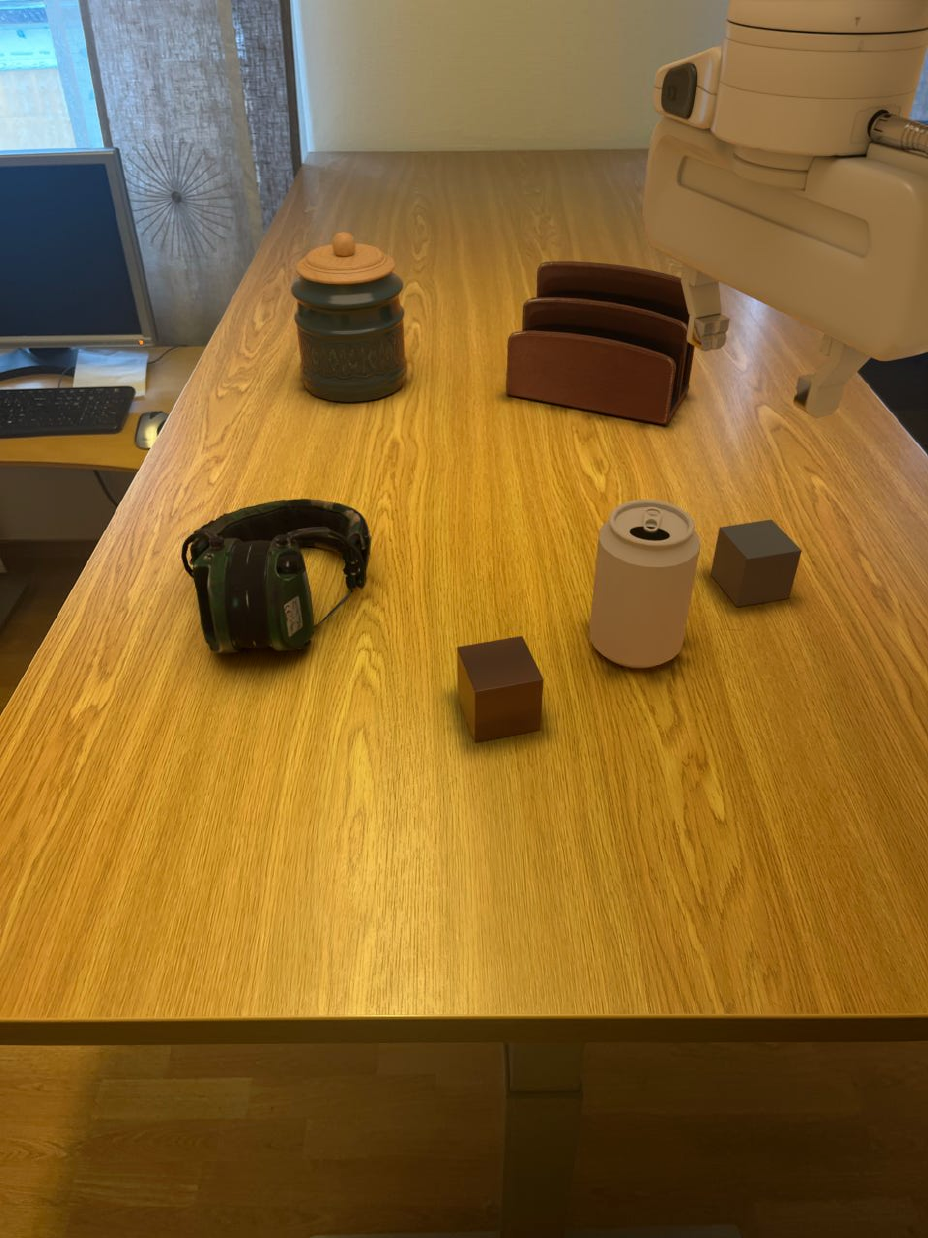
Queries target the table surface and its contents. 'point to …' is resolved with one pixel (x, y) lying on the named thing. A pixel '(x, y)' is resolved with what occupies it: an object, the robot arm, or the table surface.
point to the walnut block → (499, 688)
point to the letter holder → (603, 341)
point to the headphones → (270, 570)
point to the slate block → (755, 562)
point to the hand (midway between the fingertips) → (756, 376)
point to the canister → (349, 322)
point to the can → (643, 583)
